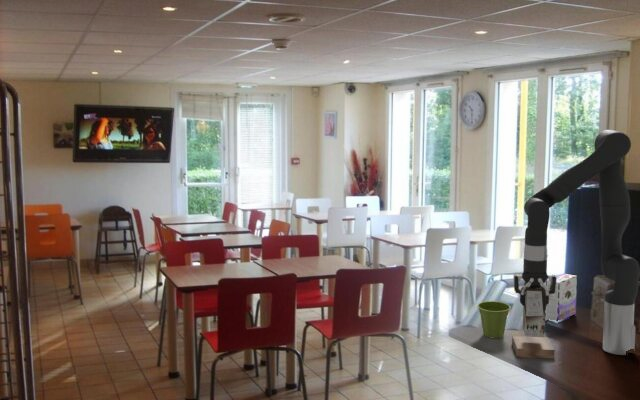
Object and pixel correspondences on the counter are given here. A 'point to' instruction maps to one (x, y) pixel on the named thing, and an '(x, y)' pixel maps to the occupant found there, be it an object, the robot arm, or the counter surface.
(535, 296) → the coffee box
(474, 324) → the counter surface
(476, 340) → the counter surface
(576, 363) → the counter surface
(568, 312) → the candy box
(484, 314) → the plant pot
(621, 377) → the counter surface
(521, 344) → the light brown flat block
